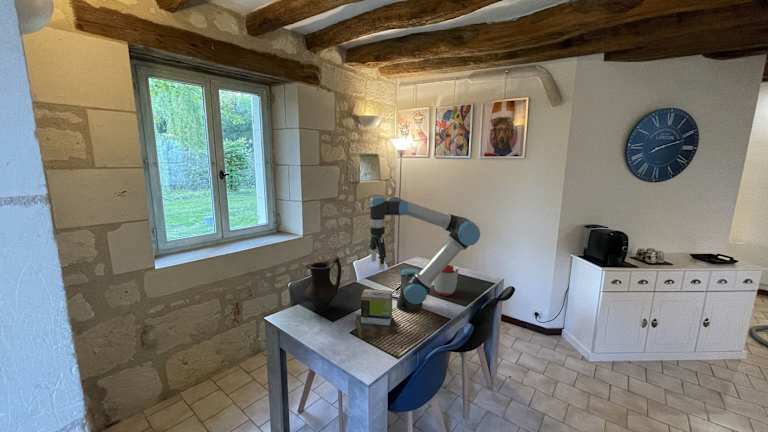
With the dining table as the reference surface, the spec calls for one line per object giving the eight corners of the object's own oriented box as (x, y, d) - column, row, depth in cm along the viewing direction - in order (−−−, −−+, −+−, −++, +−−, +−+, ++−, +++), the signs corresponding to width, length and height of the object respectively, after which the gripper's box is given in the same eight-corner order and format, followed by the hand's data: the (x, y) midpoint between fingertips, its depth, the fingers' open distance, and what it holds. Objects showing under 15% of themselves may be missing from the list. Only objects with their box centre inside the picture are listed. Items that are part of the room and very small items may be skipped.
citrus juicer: (463, 296, 206) (465, 266, 202) (439, 299, 200) (441, 269, 197) (450, 286, 221) (452, 258, 217) (428, 289, 215) (429, 261, 211)
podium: (389, 319, 174) (390, 311, 173) (397, 334, 160) (398, 325, 159) (355, 322, 170) (355, 314, 169) (360, 338, 155) (360, 329, 154)
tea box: (392, 316, 168) (393, 290, 165) (389, 326, 158) (390, 298, 156) (364, 313, 170) (364, 287, 167) (360, 323, 160) (360, 296, 157)
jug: (307, 318, 172) (306, 266, 166) (302, 304, 189) (301, 255, 183) (345, 312, 180) (345, 261, 175) (336, 298, 197) (336, 252, 191)
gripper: (392, 231, 155) (392, 272, 159) (376, 221, 178) (376, 257, 182) (378, 232, 153) (378, 274, 157) (364, 222, 176) (364, 258, 180)
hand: (377, 265), depth 170 cm, fingers open, 13 cm apart
